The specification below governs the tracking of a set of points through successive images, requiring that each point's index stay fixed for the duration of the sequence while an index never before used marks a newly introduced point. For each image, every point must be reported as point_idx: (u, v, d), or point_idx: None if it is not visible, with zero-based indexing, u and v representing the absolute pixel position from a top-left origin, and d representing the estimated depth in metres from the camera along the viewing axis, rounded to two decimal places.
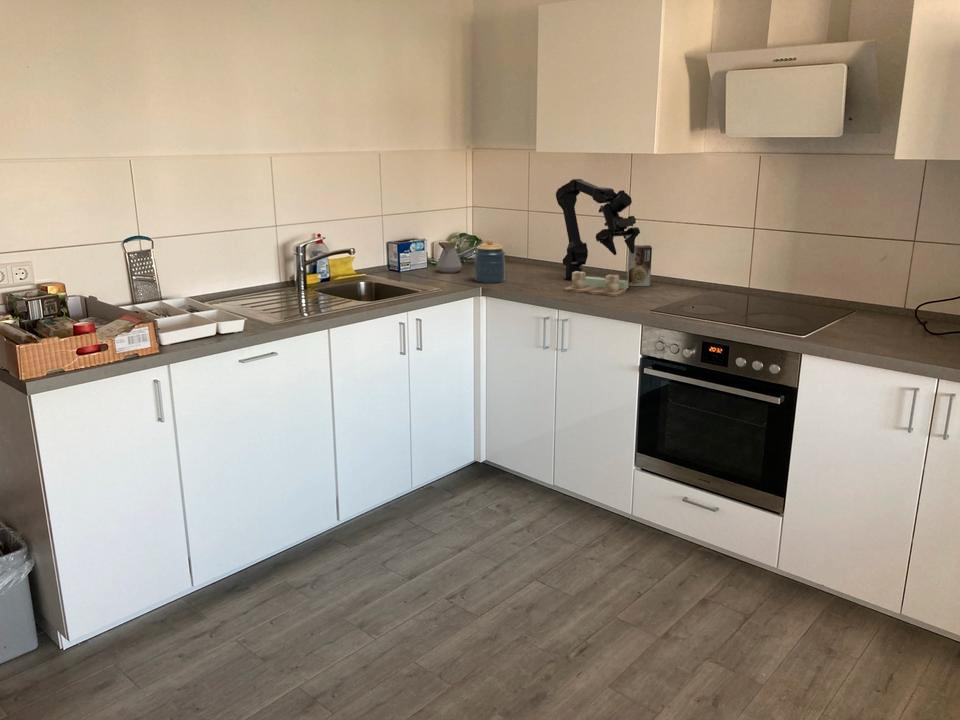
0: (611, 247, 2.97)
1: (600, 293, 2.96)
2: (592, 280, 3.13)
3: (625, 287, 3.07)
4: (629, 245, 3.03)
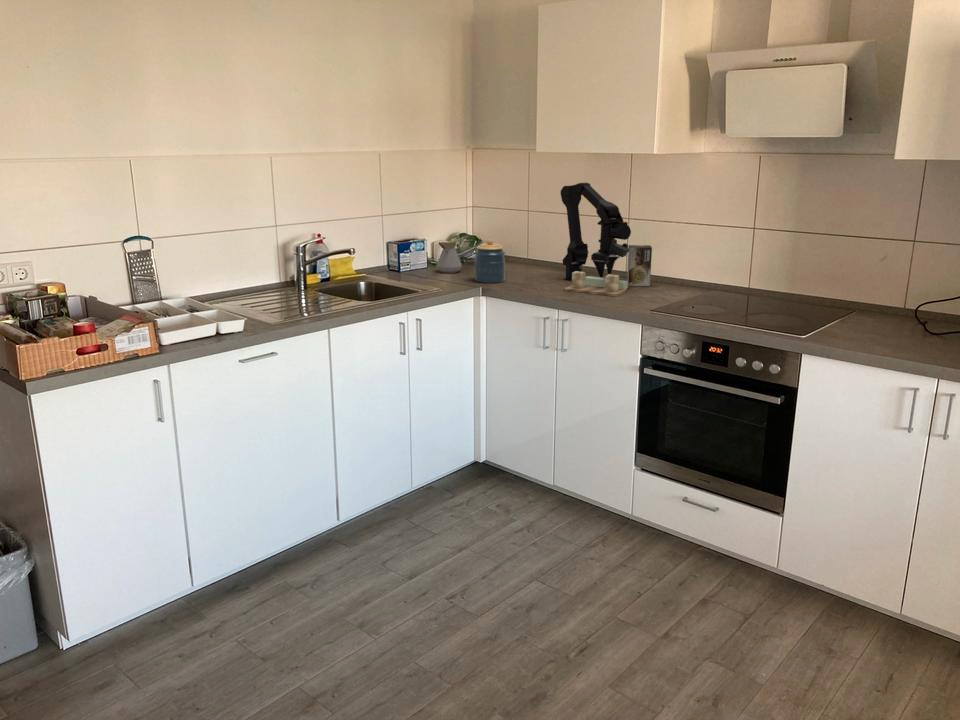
0: (601, 270, 3.06)
1: (600, 293, 2.96)
2: (592, 280, 3.13)
3: (624, 287, 3.07)
4: (608, 264, 3.15)
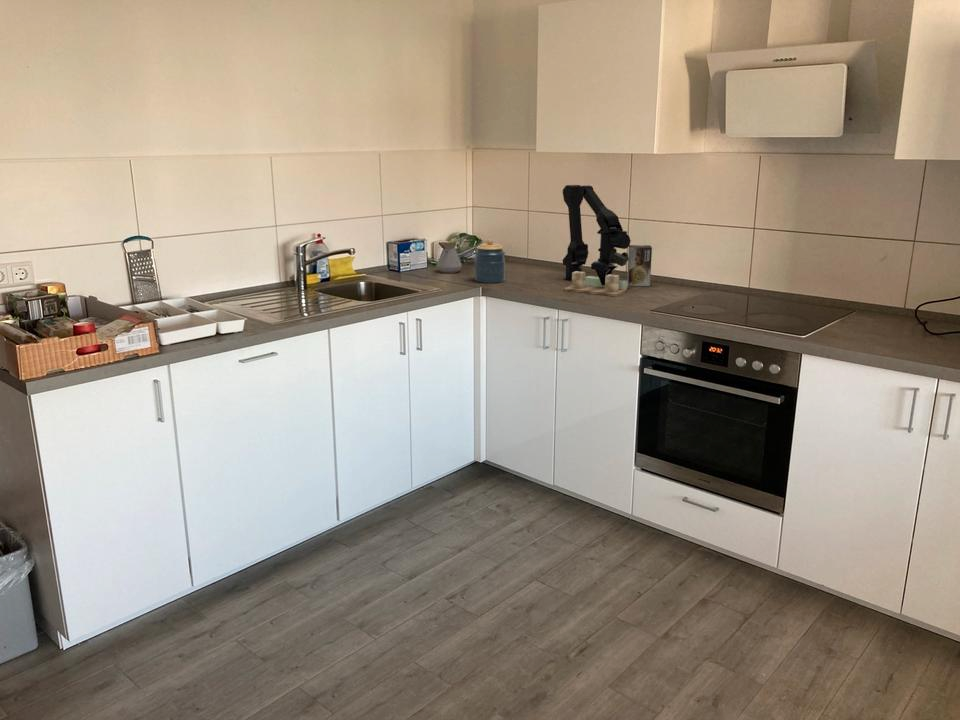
0: (603, 278, 3.08)
1: (600, 293, 2.96)
2: (592, 280, 3.13)
3: (624, 287, 3.06)
4: None
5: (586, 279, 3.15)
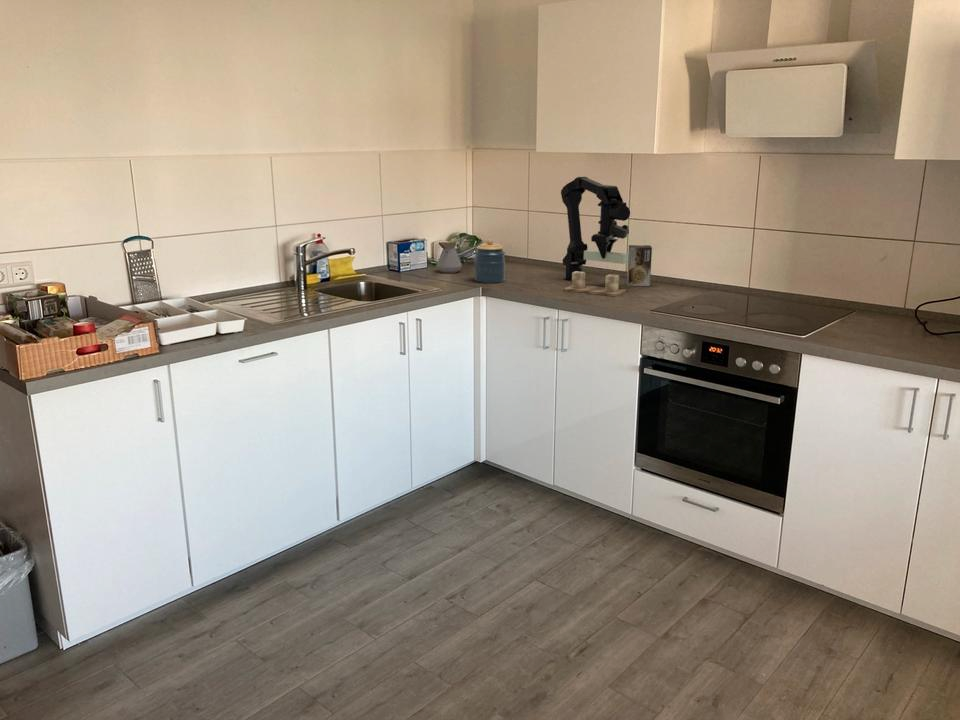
0: (603, 251, 3.04)
1: (600, 293, 2.96)
2: (592, 253, 3.09)
3: (624, 260, 3.02)
4: (606, 247, 3.09)
5: (586, 253, 3.11)
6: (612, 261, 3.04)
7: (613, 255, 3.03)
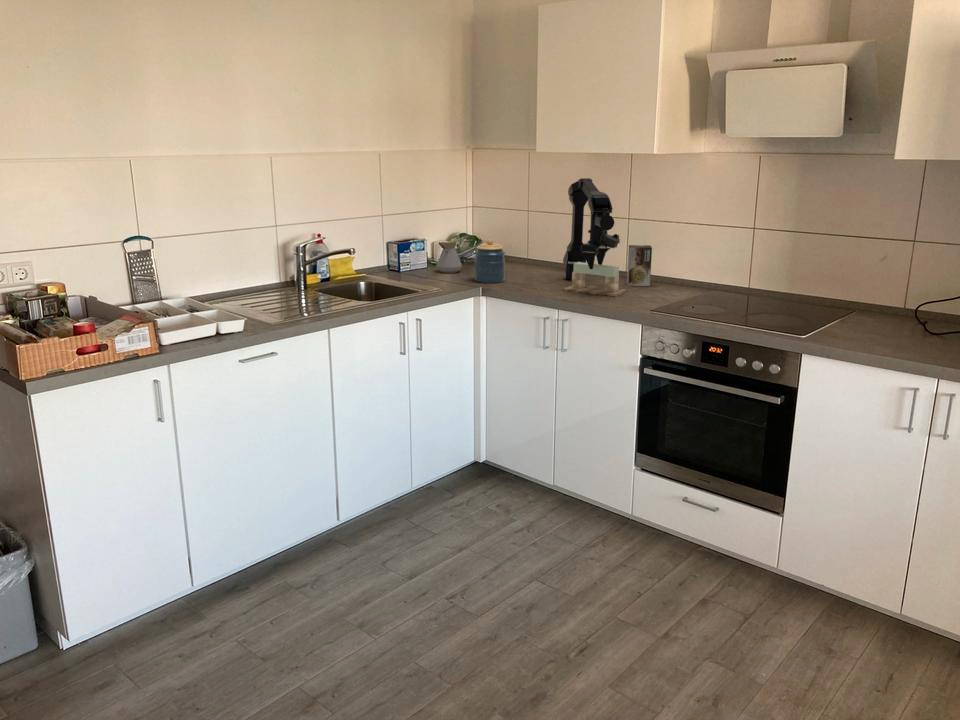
0: (591, 261, 2.95)
1: (600, 293, 2.96)
2: (582, 266, 3.02)
3: (615, 273, 2.95)
4: (599, 256, 3.04)
5: (576, 265, 3.03)
6: (602, 274, 2.97)
7: (603, 268, 2.96)
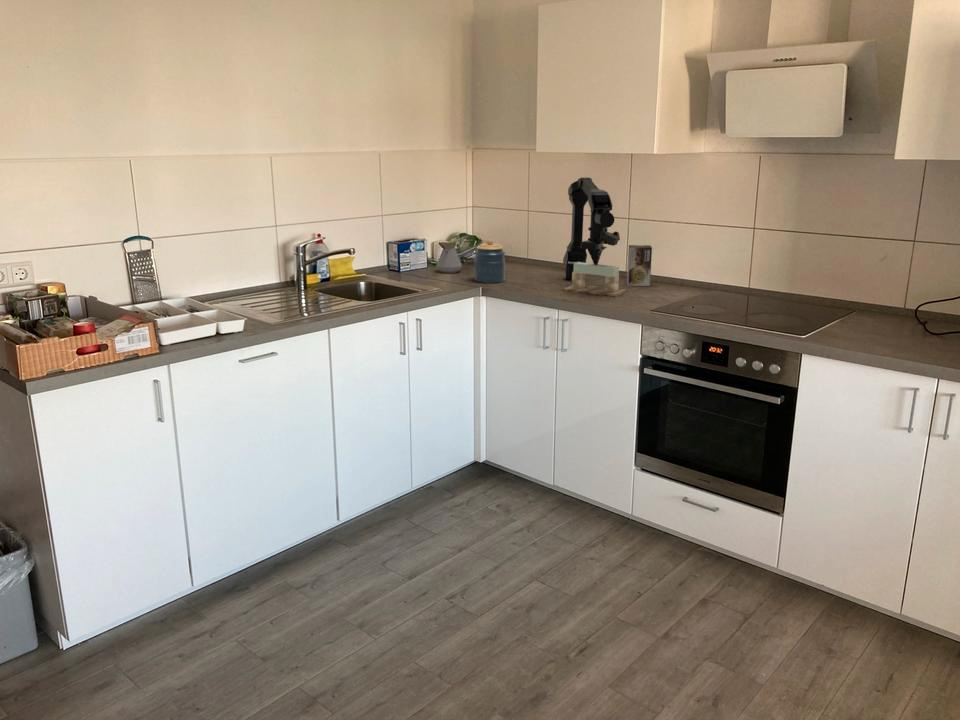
0: (595, 257, 2.98)
1: (600, 293, 2.96)
2: (582, 266, 3.02)
3: (615, 273, 2.95)
4: None
5: (576, 265, 3.03)
6: (602, 274, 2.97)
7: (603, 268, 2.96)
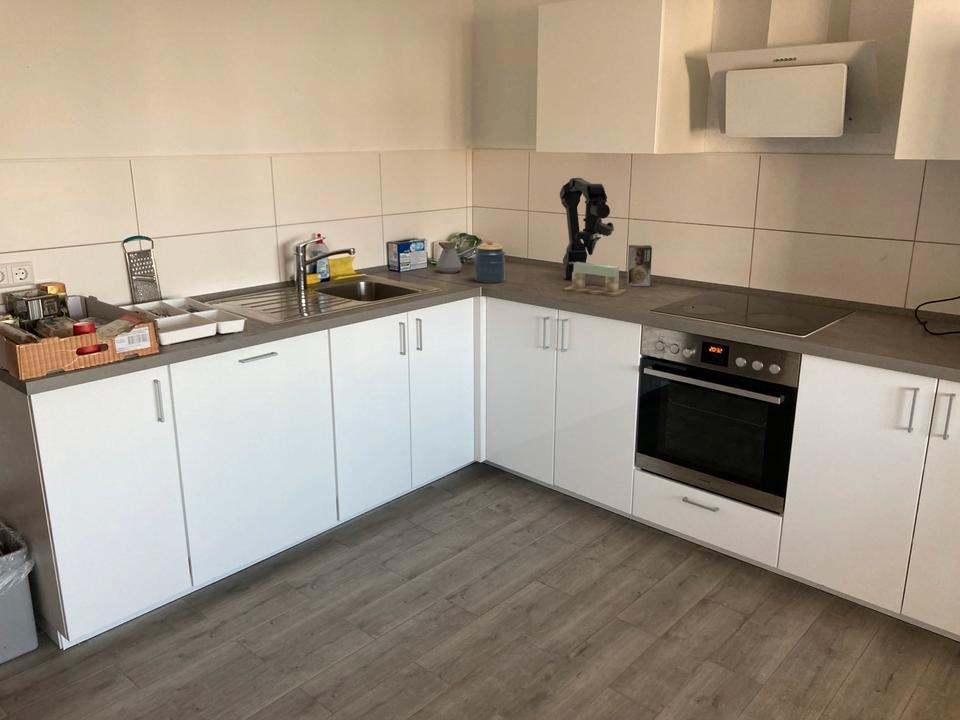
0: (590, 247, 3.08)
1: (600, 293, 2.96)
2: (582, 266, 3.02)
3: (615, 273, 2.95)
4: None
5: (576, 265, 3.03)
6: (602, 274, 2.97)
7: (603, 268, 2.96)
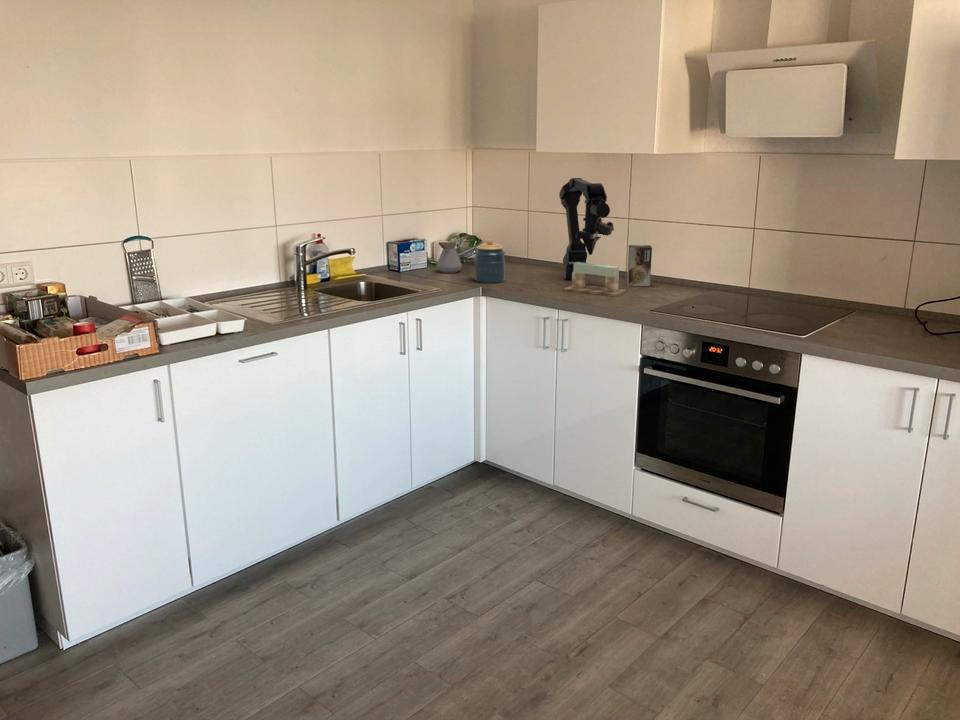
0: (590, 247, 3.08)
1: (600, 293, 2.96)
2: (582, 266, 3.02)
3: (615, 273, 2.95)
4: None
5: (576, 265, 3.03)
6: (602, 274, 2.97)
7: (603, 268, 2.96)
